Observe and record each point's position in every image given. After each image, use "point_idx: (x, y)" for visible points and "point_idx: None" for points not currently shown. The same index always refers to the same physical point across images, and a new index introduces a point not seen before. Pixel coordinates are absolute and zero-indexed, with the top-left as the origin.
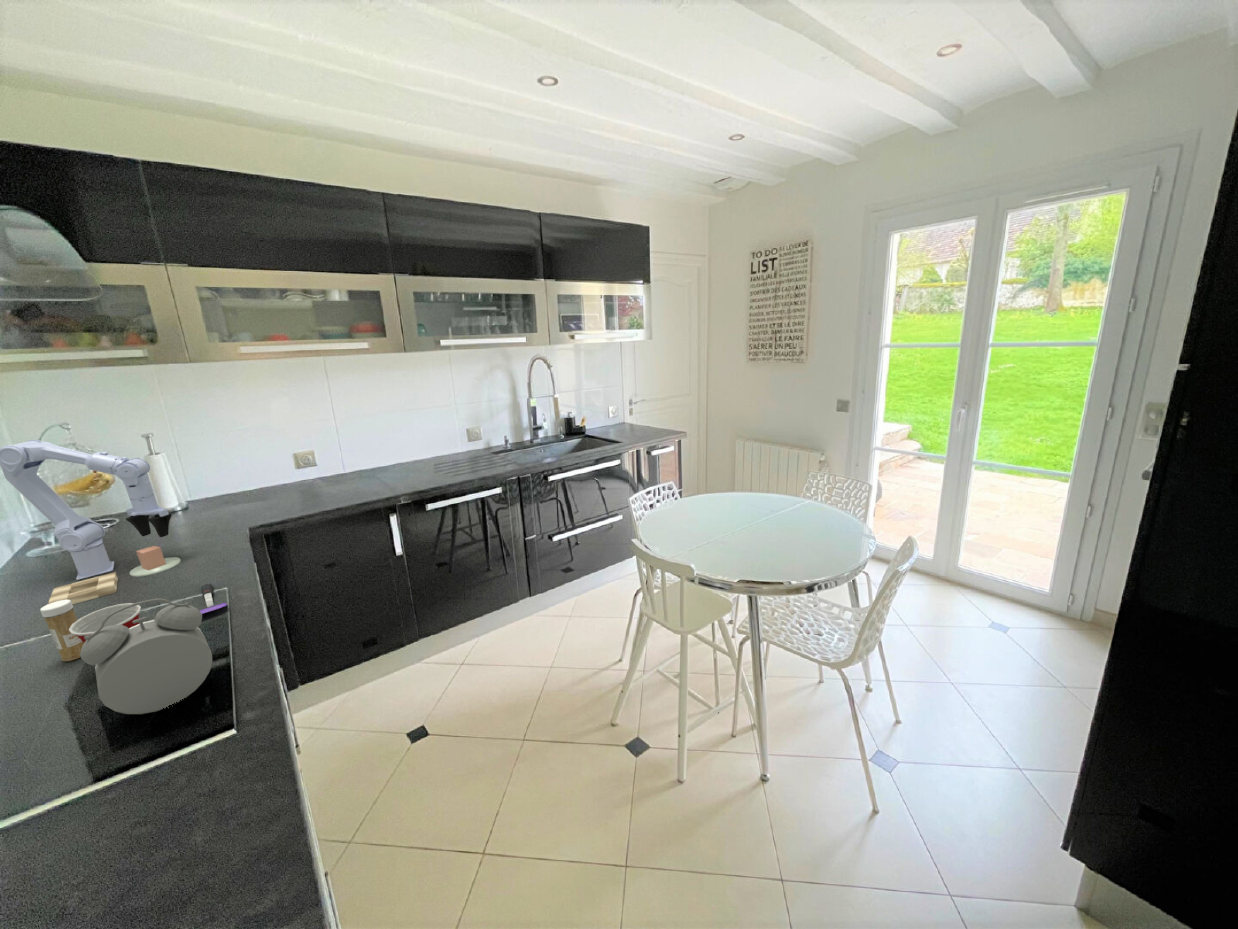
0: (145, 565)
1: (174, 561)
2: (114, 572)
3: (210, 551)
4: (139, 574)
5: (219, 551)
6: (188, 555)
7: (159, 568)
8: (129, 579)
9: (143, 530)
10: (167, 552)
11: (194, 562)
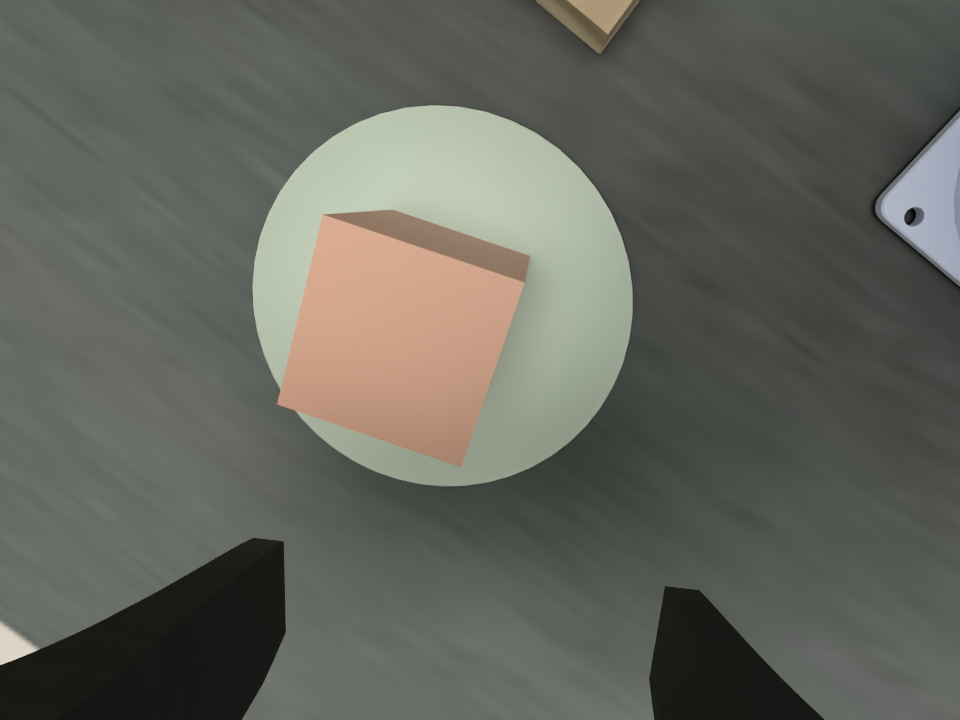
0: (410, 221)
1: None
2: (610, 22)
3: None
4: (386, 116)
5: None
6: (394, 545)
7: None
8: (434, 46)
9: (692, 695)
10: None
11: (167, 413)
